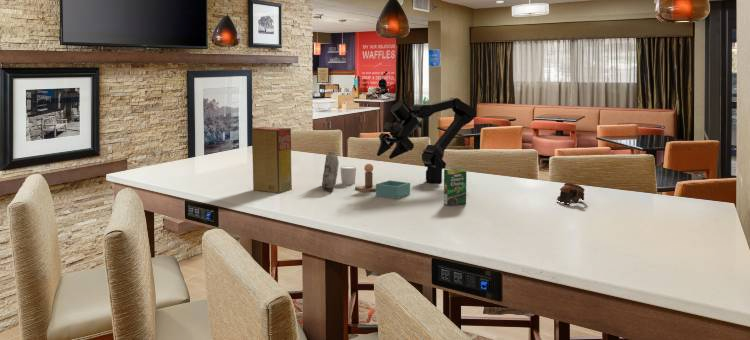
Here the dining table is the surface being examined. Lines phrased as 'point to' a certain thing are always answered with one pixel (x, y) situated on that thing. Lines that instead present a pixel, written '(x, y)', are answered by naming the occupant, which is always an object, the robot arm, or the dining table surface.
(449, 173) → the coffee box
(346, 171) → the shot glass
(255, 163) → the food packaging
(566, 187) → the dark brown lump
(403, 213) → the dining table surface
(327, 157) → the decorative rock
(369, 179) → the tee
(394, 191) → the teal open-top box
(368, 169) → the ball
